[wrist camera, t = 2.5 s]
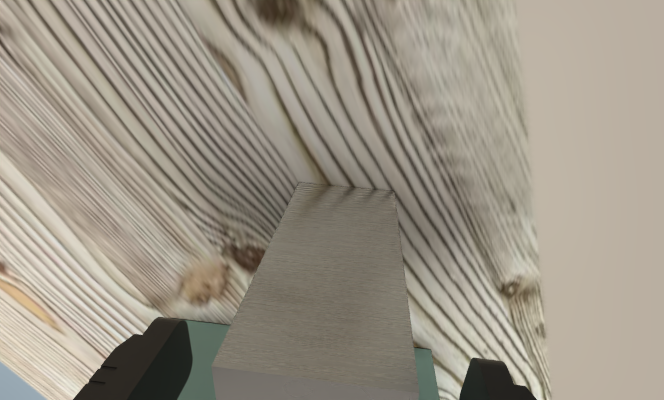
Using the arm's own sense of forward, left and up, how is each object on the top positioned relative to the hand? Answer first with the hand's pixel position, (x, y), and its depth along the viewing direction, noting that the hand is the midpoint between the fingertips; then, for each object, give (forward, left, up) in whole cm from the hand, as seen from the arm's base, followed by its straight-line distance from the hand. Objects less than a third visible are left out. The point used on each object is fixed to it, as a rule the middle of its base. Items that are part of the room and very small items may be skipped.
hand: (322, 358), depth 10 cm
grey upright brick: (0, 0, -7) cm, 7 cm away
